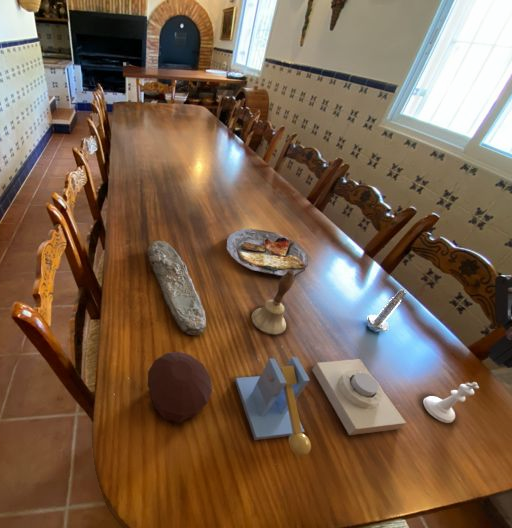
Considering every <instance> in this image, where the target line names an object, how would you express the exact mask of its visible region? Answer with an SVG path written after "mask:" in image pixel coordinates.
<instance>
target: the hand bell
mask: <svg viewBox="0 0 512 528" xmlns="http://www.w3.org/2000/svg"><path fill="white" fill-rule="evenodd" d="M294 277H295V276H294V271H292V270H288V271H287V273H286V274H284V275H283V276H282V275H281V278H280V279H279V282H278V286H277V292H276V294H275V296H274V297H273V299H267V301H266V302H265V303H264V304H263V306H262V307H259V308H256V309H254V311H252V313H251V316H250V317H251V322H252V324H253V325H254V326H255V327H256V328H257V329H258V330H260V331H261V332H263V333H265V334H269V335H281V334H282V333H284V332H285V331H286V328H287V322H286V319H285V318H284V313H285V306H284V305H283V303H282V302H283V299H284V297H285V295H286V293H288V292H289V290H290V289H291V288H292V286H293V284H294Z"/></svg>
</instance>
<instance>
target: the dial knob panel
mask: <svg viewBox="0 0 512 528" xmlns="http://www.w3.org/2000/svg"><path fill="white" fill-rule="evenodd" d="M311 372H312V373H313V375H314V376H315V378H316V380H317V381H318V383H319V386H320V387H321V388H322V391H323V392H324V394H325V396H326V397H327V399H328V401H329V403H330V404H331V406H332V408H333V410H334V411H335V413H336V415H337V417H338V419H339V420H340V422H341V423H342V425H343V427H344V429H345V430H346V433H347V435H348V436H354V435H361V434H369V433H370V434H371V433H377V432H386V431H394V430H399V429H400V428H402V427H403V426H405V424H407V422H406V421H405V419H404V418H403V417H402V415H401V414H400V412H399V411H398V410H397V408H396V407H395V405H394V404H393V403H392V401H391V399H389V397H388V396H387V395H386V393H385V392H384V390H383V387H381V384H380V383H379V382H378V381H377V379H375V381H376V382H377V384H378V391H377V392H376V393H375V394H373V395H372V396H371V397H365V396H362V395H360V394H358V393H357V392H356V391H355V390H354V389H353V388H352V386H351V379H352V378H353V376H354V375H355V374H356V373H359V372H363V373H366V374H368V375H370V376H371V377H373V375H372V373H371V372H370V371H369V369H368V368H367V367H366V365H365V364H364V363H363V361H362V360H361V358H356V359H345V360H333V361H322V362H321V361H320V362H316V363H315V365H314V366H313V367H312V369H311Z"/></svg>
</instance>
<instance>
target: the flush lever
mask: <svg viewBox="0 0 512 528" xmlns="http://www.w3.org/2000/svg"><path fill="white" fill-rule="evenodd" d="M279 368H280V370H281V372H282V374H283V376H284V379H285V381H286V384H285V386H284V392H285V397H286V402H287V407H288V412H289V417H290V422H291V427H292V432H293V433H292V434H291V435H290V436H288V442H287V443H288V447H289V449H290V450H291V452H292V453H294V454H295V455H297V456H299V457H305V456H308V455H309V454H310V453H311V450H312V443H311V440H310V438H309V437H308V436H307V435H306V434H305V433H302V430H301V425H302V424H301V425H300V423H301V420H300V415H299V413H298V407H297V402H296V400H295V397H294V392H293V387H292V384H297V380H296V375H295V371H294V366H287V365H283V366H282V365H281V366H279Z"/></svg>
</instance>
